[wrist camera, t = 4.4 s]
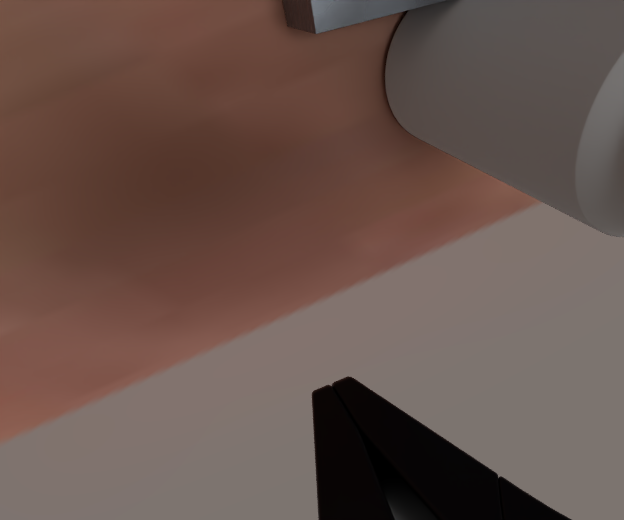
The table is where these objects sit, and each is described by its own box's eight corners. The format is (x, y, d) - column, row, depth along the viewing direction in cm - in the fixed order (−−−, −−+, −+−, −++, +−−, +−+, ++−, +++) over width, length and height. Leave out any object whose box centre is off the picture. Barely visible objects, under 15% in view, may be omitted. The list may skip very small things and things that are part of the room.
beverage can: (514, 95, 23) (819, 180, 13) (400, 162, 22) (625, 302, 12) (491, -52, 19) (895, -91, 9) (354, 25, 19) (623, 72, 9)
